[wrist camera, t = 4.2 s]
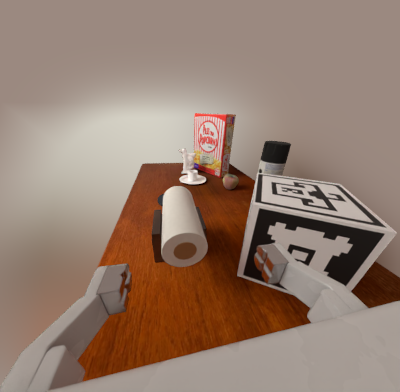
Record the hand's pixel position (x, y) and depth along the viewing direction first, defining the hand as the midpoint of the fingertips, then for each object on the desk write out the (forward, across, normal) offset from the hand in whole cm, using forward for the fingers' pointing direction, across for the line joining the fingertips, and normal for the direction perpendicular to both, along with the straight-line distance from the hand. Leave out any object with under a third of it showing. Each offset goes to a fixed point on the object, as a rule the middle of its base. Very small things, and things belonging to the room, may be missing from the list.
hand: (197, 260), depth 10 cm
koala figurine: (+68, -8, +17) cm, 71 cm away
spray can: (+32, -28, +18) cm, 46 cm away
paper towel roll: (+16, 0, +8) cm, 18 cm away
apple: (+47, -22, +18) cm, 55 cm away
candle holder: (+57, -9, +17) cm, 60 cm away
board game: (+69, -20, +17) cm, 74 cm away
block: (+12, -20, +18) cm, 29 cm away
